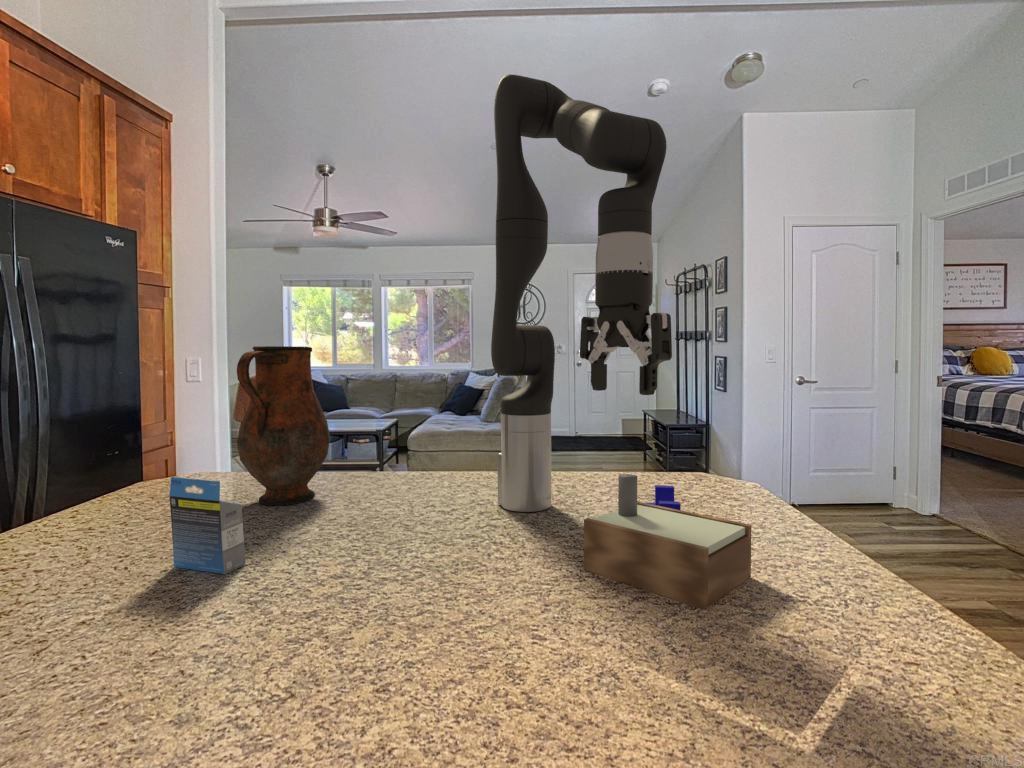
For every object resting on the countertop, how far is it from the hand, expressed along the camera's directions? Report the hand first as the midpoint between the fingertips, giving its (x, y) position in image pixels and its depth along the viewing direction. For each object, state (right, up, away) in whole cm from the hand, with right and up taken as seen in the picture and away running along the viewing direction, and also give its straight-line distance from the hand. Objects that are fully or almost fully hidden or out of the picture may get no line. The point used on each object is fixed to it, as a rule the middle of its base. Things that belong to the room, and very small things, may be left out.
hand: (622, 392), depth 76 cm
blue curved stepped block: (+9, -22, +13) cm, 27 cm away
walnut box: (+4, -23, -7) cm, 24 cm away
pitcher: (-60, -22, +33) cm, 71 cm away
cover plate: (+4, -17, -7) cm, 19 cm away
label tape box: (-55, -24, -1) cm, 60 cm away
